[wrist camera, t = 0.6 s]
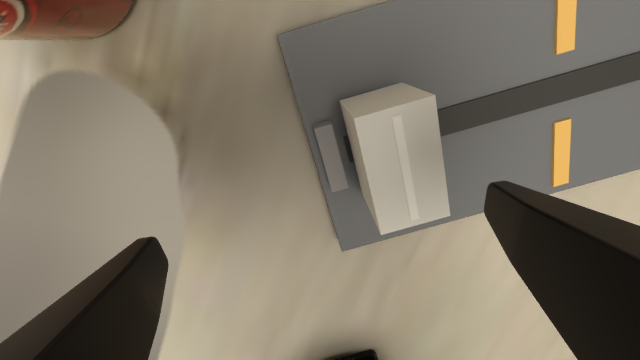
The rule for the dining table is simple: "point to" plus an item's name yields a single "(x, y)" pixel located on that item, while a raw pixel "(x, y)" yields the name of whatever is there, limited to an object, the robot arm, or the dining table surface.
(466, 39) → the grey fader track
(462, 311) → the dining table surface
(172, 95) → the dining table surface
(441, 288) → the dining table surface
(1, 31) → the soda can
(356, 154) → the fader cap
